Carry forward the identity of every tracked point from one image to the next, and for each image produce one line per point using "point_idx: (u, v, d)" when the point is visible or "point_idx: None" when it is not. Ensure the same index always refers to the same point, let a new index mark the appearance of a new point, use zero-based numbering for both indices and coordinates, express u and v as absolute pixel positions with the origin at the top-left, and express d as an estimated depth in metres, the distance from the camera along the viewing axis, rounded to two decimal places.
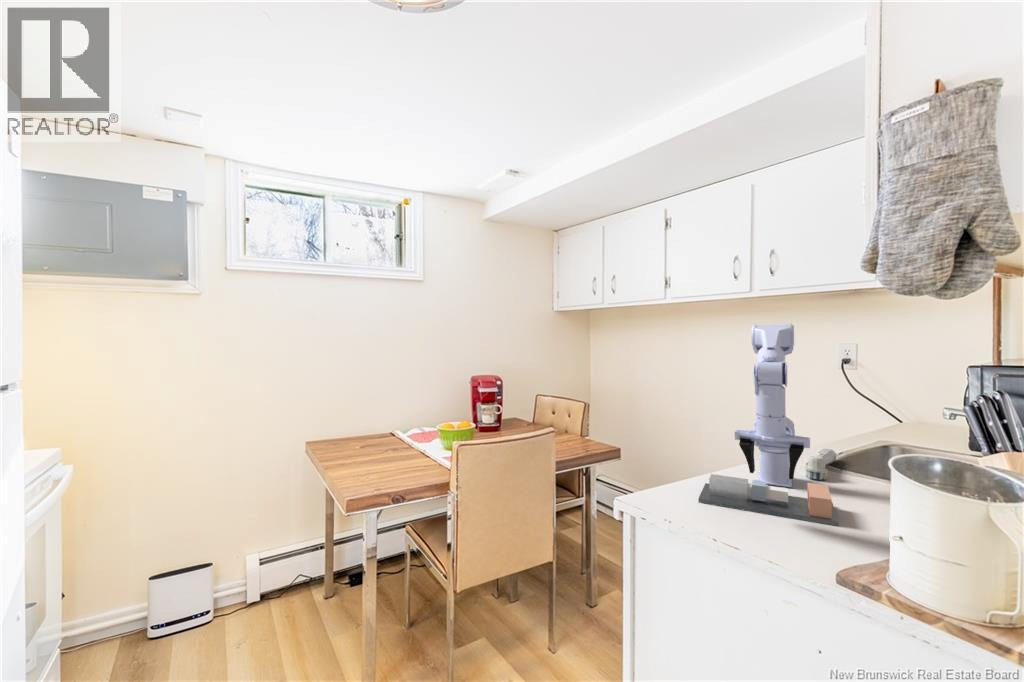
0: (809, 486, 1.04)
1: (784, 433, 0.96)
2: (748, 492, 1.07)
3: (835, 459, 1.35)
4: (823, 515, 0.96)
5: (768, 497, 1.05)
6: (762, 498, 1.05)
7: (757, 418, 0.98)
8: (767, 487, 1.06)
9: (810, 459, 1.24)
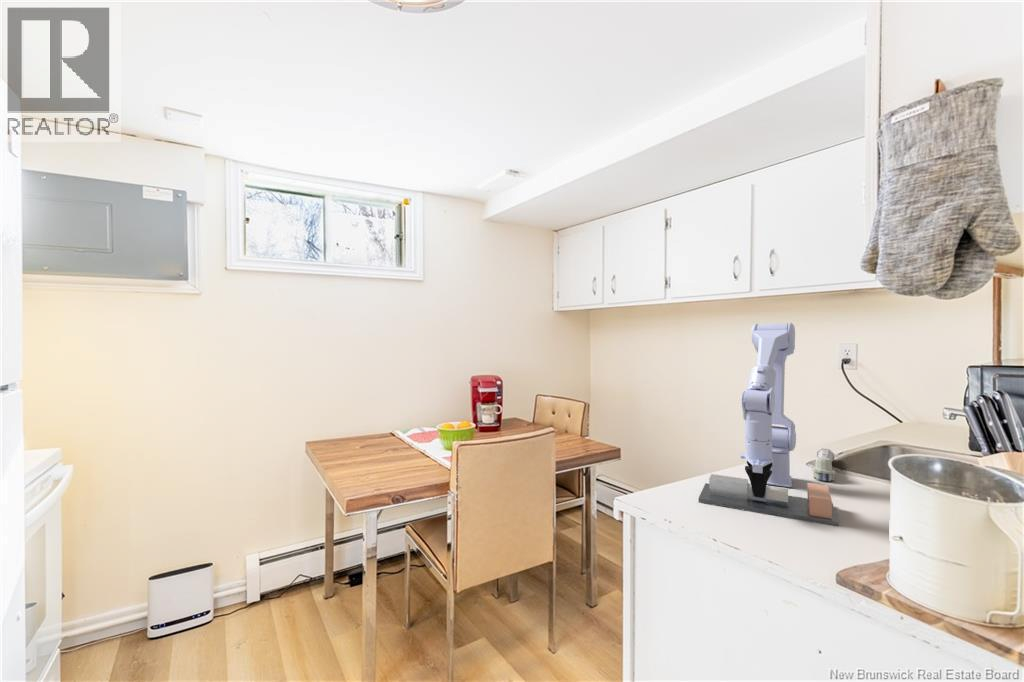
0: (809, 486, 1.04)
1: (754, 456, 1.05)
2: (748, 492, 1.07)
3: (833, 458, 1.36)
4: (823, 515, 0.96)
5: (768, 497, 1.05)
6: (762, 498, 1.05)
7: None
8: (767, 487, 1.06)
9: (818, 460, 1.22)
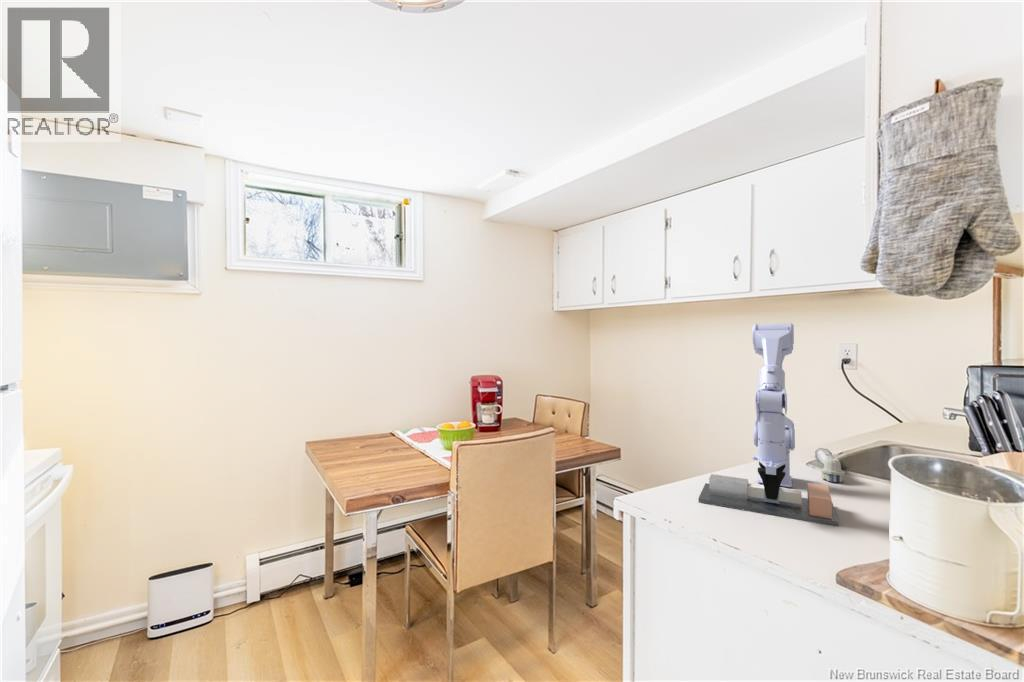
0: (809, 486, 1.04)
1: (767, 457, 1.04)
2: (761, 494, 1.06)
3: None
4: (823, 515, 0.96)
5: (781, 499, 1.04)
6: (774, 500, 1.04)
7: None
8: (780, 489, 1.05)
9: (828, 461, 1.21)
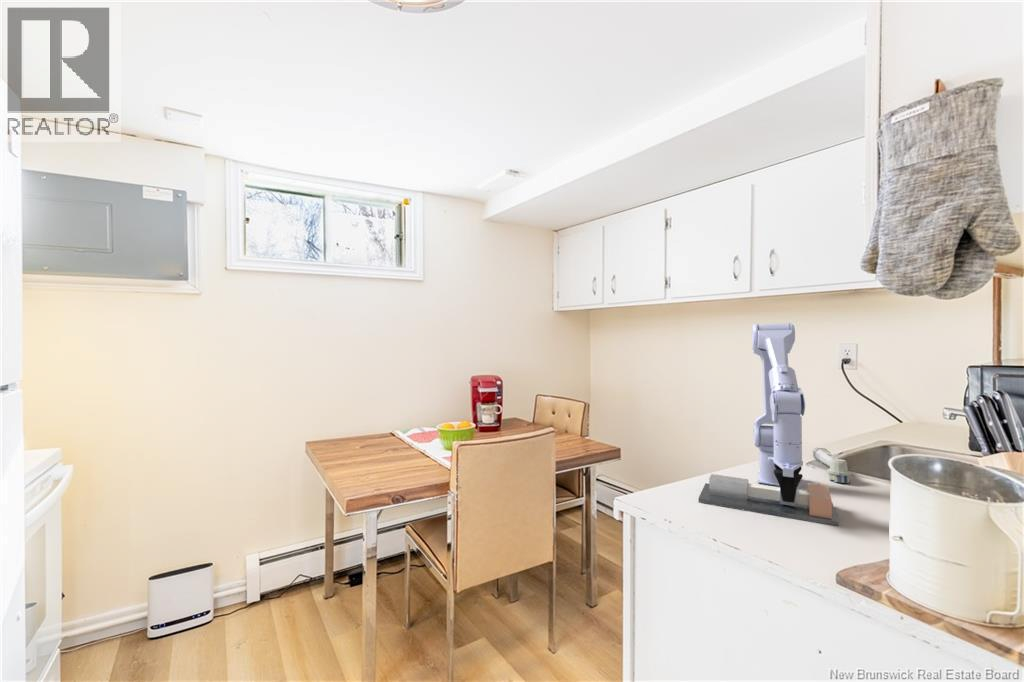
0: (809, 486, 1.04)
1: (783, 459, 1.02)
2: (776, 497, 1.04)
3: None
4: (823, 515, 0.96)
5: (797, 502, 1.02)
6: (791, 503, 1.02)
7: None
8: (796, 491, 1.03)
9: (835, 462, 1.20)
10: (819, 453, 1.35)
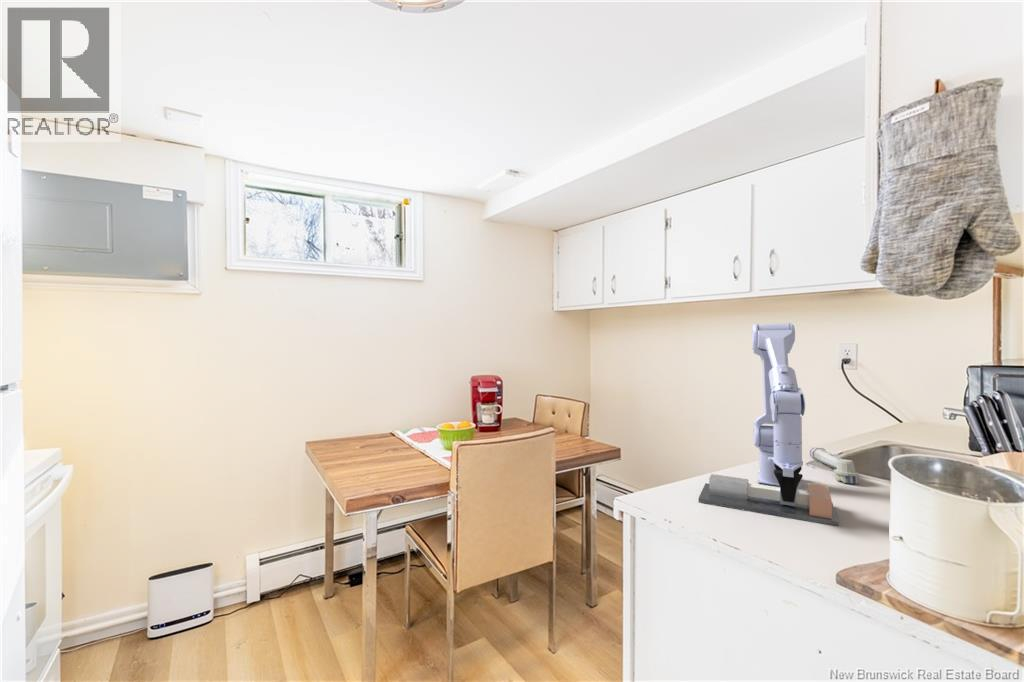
0: (809, 486, 1.04)
1: (783, 459, 1.02)
2: (776, 497, 1.04)
3: None
4: (823, 515, 0.96)
5: (797, 502, 1.02)
6: (791, 503, 1.02)
7: None
8: (796, 491, 1.03)
9: (842, 463, 1.20)
10: (819, 453, 1.35)
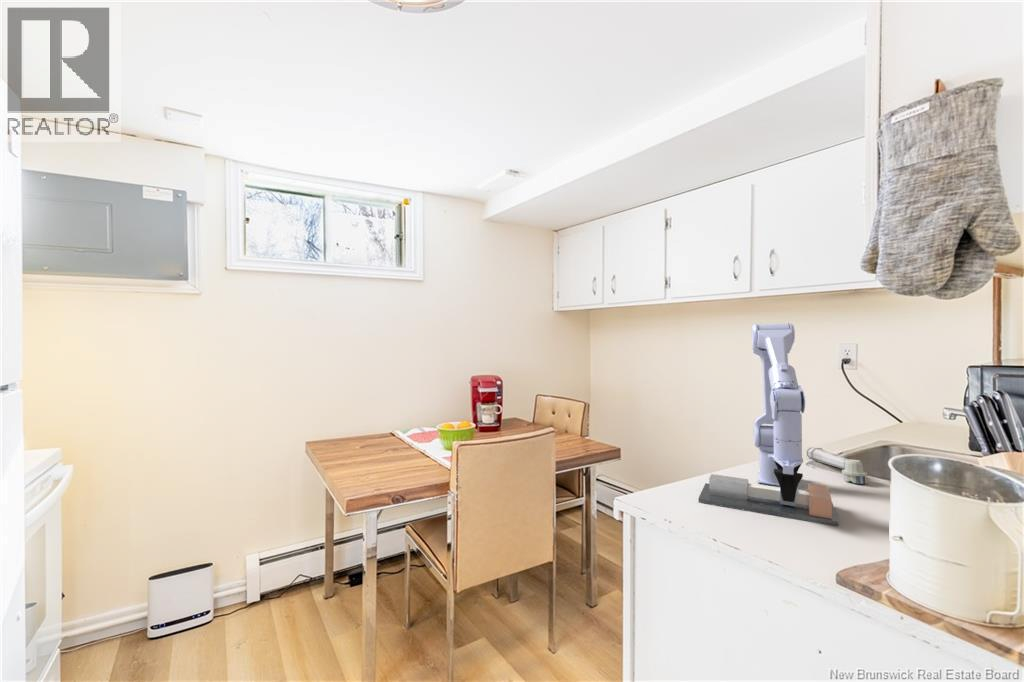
0: (809, 486, 1.04)
1: (783, 456, 1.02)
2: (776, 497, 1.04)
3: None
4: (823, 515, 0.96)
5: (797, 502, 1.02)
6: (791, 503, 1.02)
7: None
8: (796, 491, 1.03)
9: (852, 463, 1.19)
10: (819, 453, 1.35)
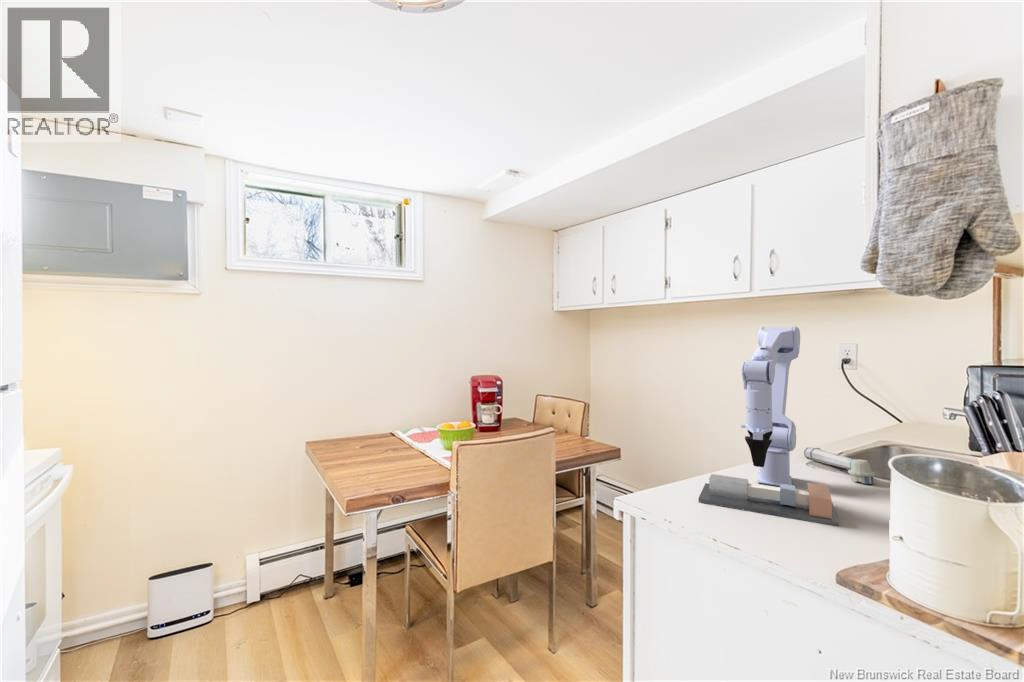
0: (809, 486, 1.04)
1: (754, 424, 1.07)
2: (776, 497, 1.04)
3: None
4: (823, 515, 0.96)
5: (797, 502, 1.02)
6: (791, 503, 1.02)
7: None
8: (796, 491, 1.03)
9: (860, 463, 1.19)
10: (819, 453, 1.35)
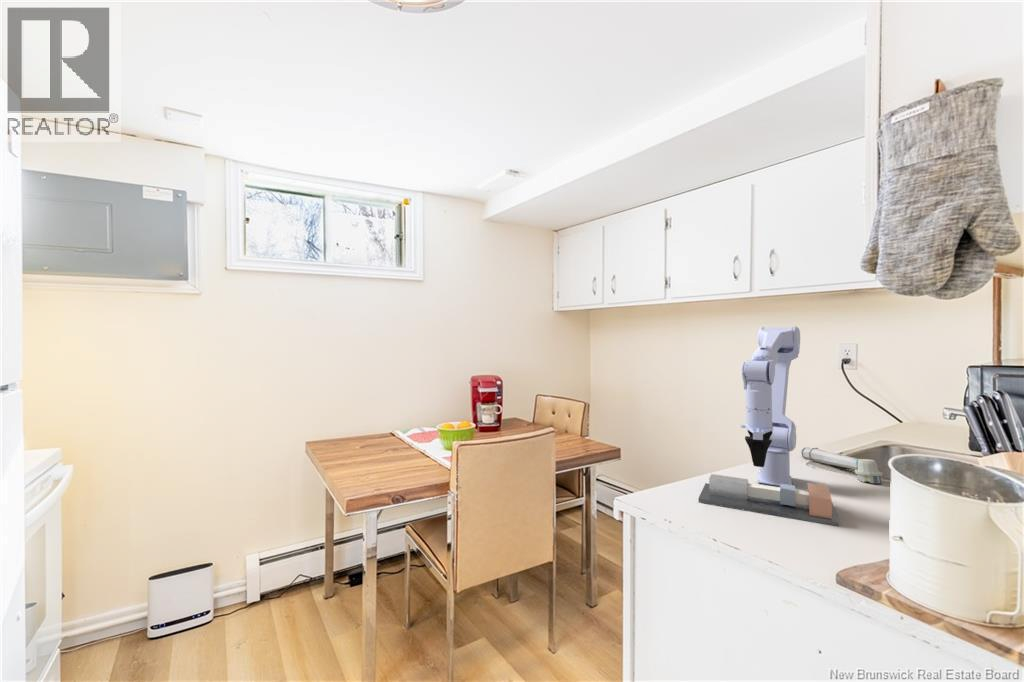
0: (809, 486, 1.04)
1: (754, 424, 1.07)
2: (776, 497, 1.04)
3: None
4: (823, 515, 0.96)
5: (797, 502, 1.02)
6: (791, 503, 1.02)
7: None
8: (796, 491, 1.03)
9: (868, 463, 1.19)
10: (820, 453, 1.35)
